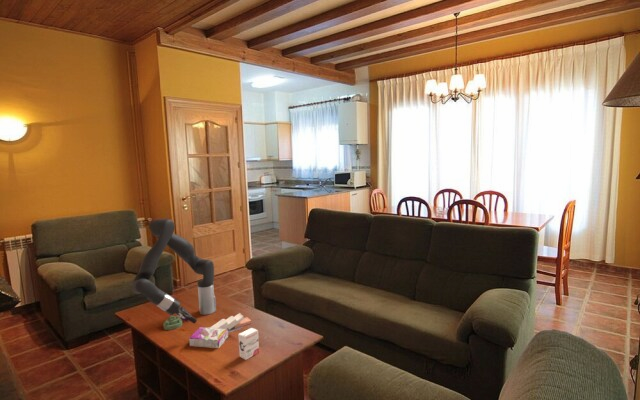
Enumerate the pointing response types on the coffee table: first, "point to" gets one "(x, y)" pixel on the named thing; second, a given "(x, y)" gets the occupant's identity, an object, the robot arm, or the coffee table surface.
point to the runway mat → (233, 329)
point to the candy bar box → (208, 337)
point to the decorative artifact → (172, 323)
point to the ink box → (248, 343)
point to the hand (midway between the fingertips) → (195, 321)
